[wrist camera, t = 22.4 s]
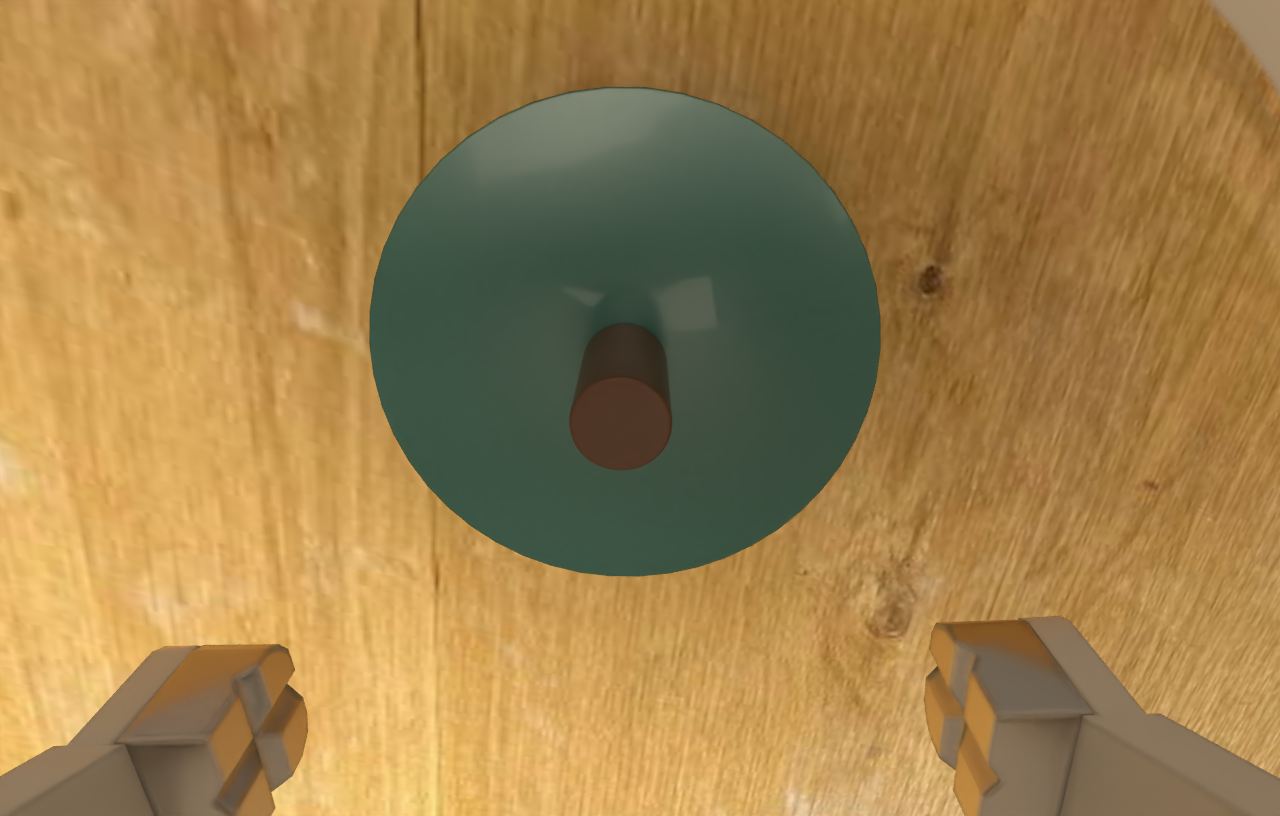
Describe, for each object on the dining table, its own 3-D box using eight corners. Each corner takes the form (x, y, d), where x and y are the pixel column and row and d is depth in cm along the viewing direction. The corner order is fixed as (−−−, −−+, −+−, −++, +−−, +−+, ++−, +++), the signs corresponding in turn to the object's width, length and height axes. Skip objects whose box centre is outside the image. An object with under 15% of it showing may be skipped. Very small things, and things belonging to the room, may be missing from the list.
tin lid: (334, 104, 20) (226, 103, 15) (887, 71, 20) (975, 59, 14) (424, 567, 25) (368, 686, 20) (856, 548, 25) (912, 664, 20)
